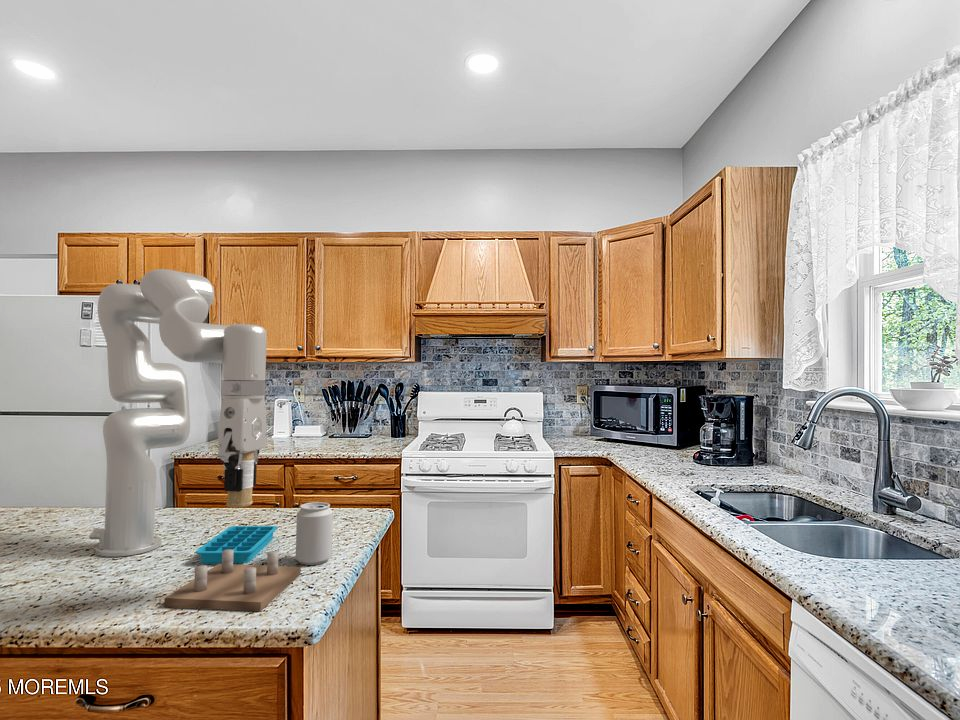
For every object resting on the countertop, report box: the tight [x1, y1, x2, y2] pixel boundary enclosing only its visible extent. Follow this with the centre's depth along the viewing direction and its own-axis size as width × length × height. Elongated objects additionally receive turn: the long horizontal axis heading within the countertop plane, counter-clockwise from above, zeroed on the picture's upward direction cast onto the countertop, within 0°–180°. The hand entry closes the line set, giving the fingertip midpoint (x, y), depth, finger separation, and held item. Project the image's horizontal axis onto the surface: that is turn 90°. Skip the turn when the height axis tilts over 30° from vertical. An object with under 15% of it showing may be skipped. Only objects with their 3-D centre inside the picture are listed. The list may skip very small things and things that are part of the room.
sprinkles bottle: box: [226, 448, 254, 508], centre depth 101 cm, size 5×5×13 cm
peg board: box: [163, 549, 302, 612], centre depth 100 cm, size 17×17×6 cm
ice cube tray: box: [195, 525, 278, 565], centre depth 123 cm, size 12×20×3 cm, turn 4°
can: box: [295, 501, 334, 566], centre depth 117 cm, size 8×8×12 cm
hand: (240, 487), depth 101 cm, fingers closed on sprinkles bottle, 4 cm apart
